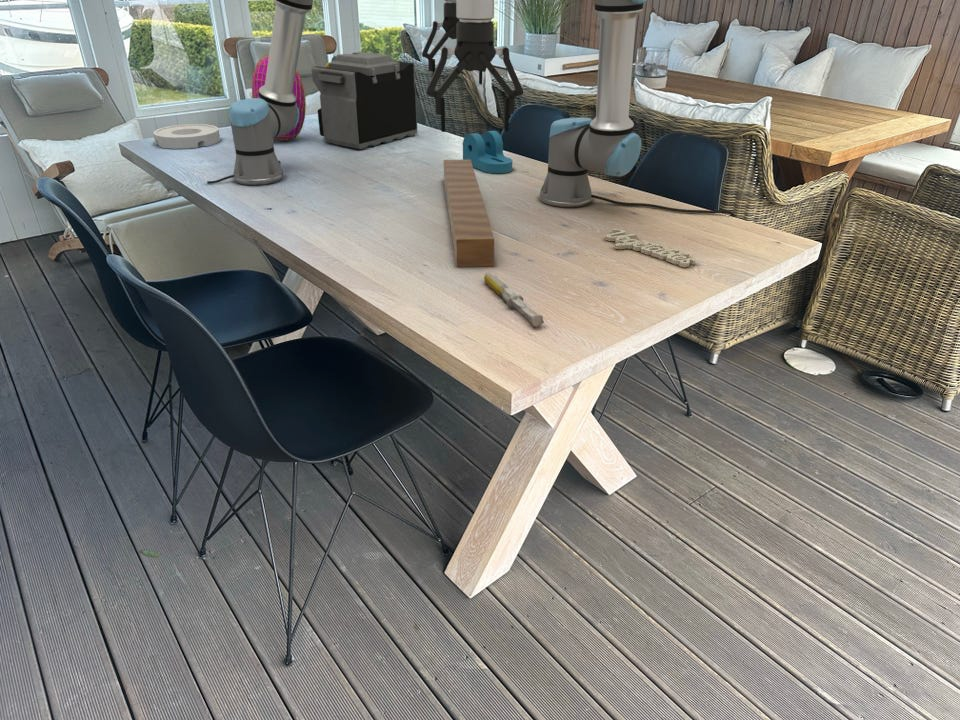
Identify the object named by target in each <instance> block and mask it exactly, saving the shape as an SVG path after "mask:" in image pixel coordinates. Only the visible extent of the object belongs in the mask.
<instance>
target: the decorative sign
mask: <svg viewBox="0 0 960 720" xmlns="http://www.w3.org/2000/svg"><path fill="white" fill-rule="evenodd" d="M611 230H612V231H611V233H608V234H606V236H605V240H606V241H608V242H614V243H615V244H614V249H615V250H623V249H624V250H625V249H628V250H631V249H632V250H633V251H637V252H640V253H642V254H645V255H649V256H651V257H653V258H658V259H659V260H665V262H666V263H671V264H673V265H678V266H679V267H681V268H689V267H690V264H691V265H693V266H695V265H696V258H692V257H690V253H689V252H687V251H685V252H683V251H682V252H680V249H679V248H672V249H665V248H664V246H663V245H661V244H660V243H654V242H652V241H649V242H643V241H641V240H638V234H637V233H628V234H626V231H625V230H623V229H619V228H612V229H611Z"/></svg>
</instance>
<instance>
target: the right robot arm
mask: <svg viewBox="0 0 960 720" xmlns="http://www.w3.org/2000/svg"><path fill="white" fill-rule="evenodd" d="M648 1H649V0H594V12H595V13H596V15H597V16H598V17H599V19H600V20H599V40H598V63H597V82H596V84H597V85H596V103H595V105H596V106H595V117H594V118H593V119H592V118H590V117H569V118H568V117H567V118H562V119H557V120H554V121H553V122H552V123H551V125H550V129H549V130H550V131H549V135H548V139H549V140H548V156H547V158H548V159H547V173H546V176H545V178H544V181H543V184H542V186H541V188H540V192H539V200H540V202H542V203H543V204H546V205H549V206H553V207H558V208H559V207H560V208H580V207H584V206H588V205H589V204H591V203H592V199H596V200H600V201H604V202H607V203H611V204H615V205H618V206H619V205H620V206H630V207H631V206H632V207H633V206H634V207H649V208H654V209H660V210H665V211H671V212H678V213H688V214H723V213H725V214H729V215H730V216H731V217H732V218H733V217H736V214H735V213H734V212H733V211H731V210H729V209H717V210H708V209H687V208H685V209H683V208H675V207H668V206H663V205H658V204H655V203H654V204H653V203H645V202H624V201H618V200H613V199H610V198H606V197H603V196H600V195H595V194H593V193H592V188H591V184H590V179H589V171H592V172H595V173H599V174H603V175H606V176H608V177H609V176H613V177H619V178H620V177H624V176H626V175H627V174H628V173H630V172H631V171H632V170H633V168H634V167H635V165H636V164H637V162H638V160H639V157H640V155H641V151H642V139H641V137H640V135H639V134H637V133H636V132H634V127H635V123H634V121H633V119H631V118H630V103H631V92H632V91H631V90H632V75H633V63H634V61H633V60H634V48H635V35H636V34H635V33H636V20H637V17H638V15H639V14H640V13H641V12H642V11H644V3H646V2H648ZM456 17H457V18H458V19H459V22H457V24H456V28H457V39H456V45H455V47H454V48H453V47H447V46H446V45H444V46H443V45H442V47H441V48H440V49H441V50H440V58H439V61H438V62H437V65H436V66H435V72H434V74H433V73H432V75H431V78H430V81H429V83H428V85H427V88H426V89H425V90H426V95H427V96H429V97H432V98H434V105H435V106H434V107H435V115H437V116H440V130H441V132H442V133H445V132H446V101H445V97H444V94H445V93H446V92H447V90H448V89H449V88H450V87H451V85H453V83H454V82H455V80H456V79H457V78H458V76H459V75H460V74H461V73H462V72H463V71H464V70H465V71H467V72H473V71H474V72H475V71H477V72H479V71H483V70H485V69H486V70H488V72H489V73H490V74H491V75H492V77H493V78H494V79H495V81H496V82H497V84H499V85H500V87H501V88H502V89H503V91H504V92H505V93H506V95H507V96H504V97H503V130H504V132H509V125H510V115H514V114H515V100H516V98H517V97H519V96H523V95H524V89H523V87H522V84H521V82H520V79H519V78H518V75H517V73H516V70H515V67H514V66H513V64H512V62H511V58H510V49H509V48H508V47H507V46H506V45H503V46H502V47H498V48H497V47H496V48H495V45H494V41H495V39H494V37H495V35H494V34H495V23H494V22H493V21H492V20H494V18H495V0H456ZM453 55H454V56H455V58H456V60H457V61H458V62H457V64H456V65H455V66H454V68H453V69H452V70H451V71H450V73H449V74H448V75H447V77H446V78H445V79H444V80H443V82H442V83H441V85H440V86H439V87H438V88H437V90H436V87H437V85H438V82H439V80H440V78H441V75H442V73H443V71H444V69H445V67H446V65H447V61H448V60H450V59H451V58H452V56H453ZM496 55H497V56H498V58H499V59H500V60H502V61H503V64H504V66H505V69H506V70H507V73H508V75H509V77H510V80H511V82H512V85H513V87H514V89H511V87H510V86H509V84H508V83H507V82H506V81H505V79H504V78H503V77H502V75H501V74H500V72H498V70H497V68H495V66H494V65H493V64H492V62H493V59H494V58H495V57H496Z"/></svg>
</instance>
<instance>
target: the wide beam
mask: <svg viewBox="0 0 960 720" xmlns="http://www.w3.org/2000/svg"><path fill="white" fill-rule="evenodd" d="M443 185H444V192H445V198H446V204H447V211H448V217H449V225H450V233H451V239H452V245H453V251H454V258H455V259H454V260H455V265H456V267H457V268H472V267H494V264H495V263H494V262H495V236H494V234H493V231H492V226H491V223H490V221H489V216H488V213H487V210H486V207H485V203H484V200H483V197H482V193H481V189H480V186H479V183H478V179H477V175H476V172H475V168H474V167H473V165H472V162H471V160H463V159H443Z"/></svg>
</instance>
